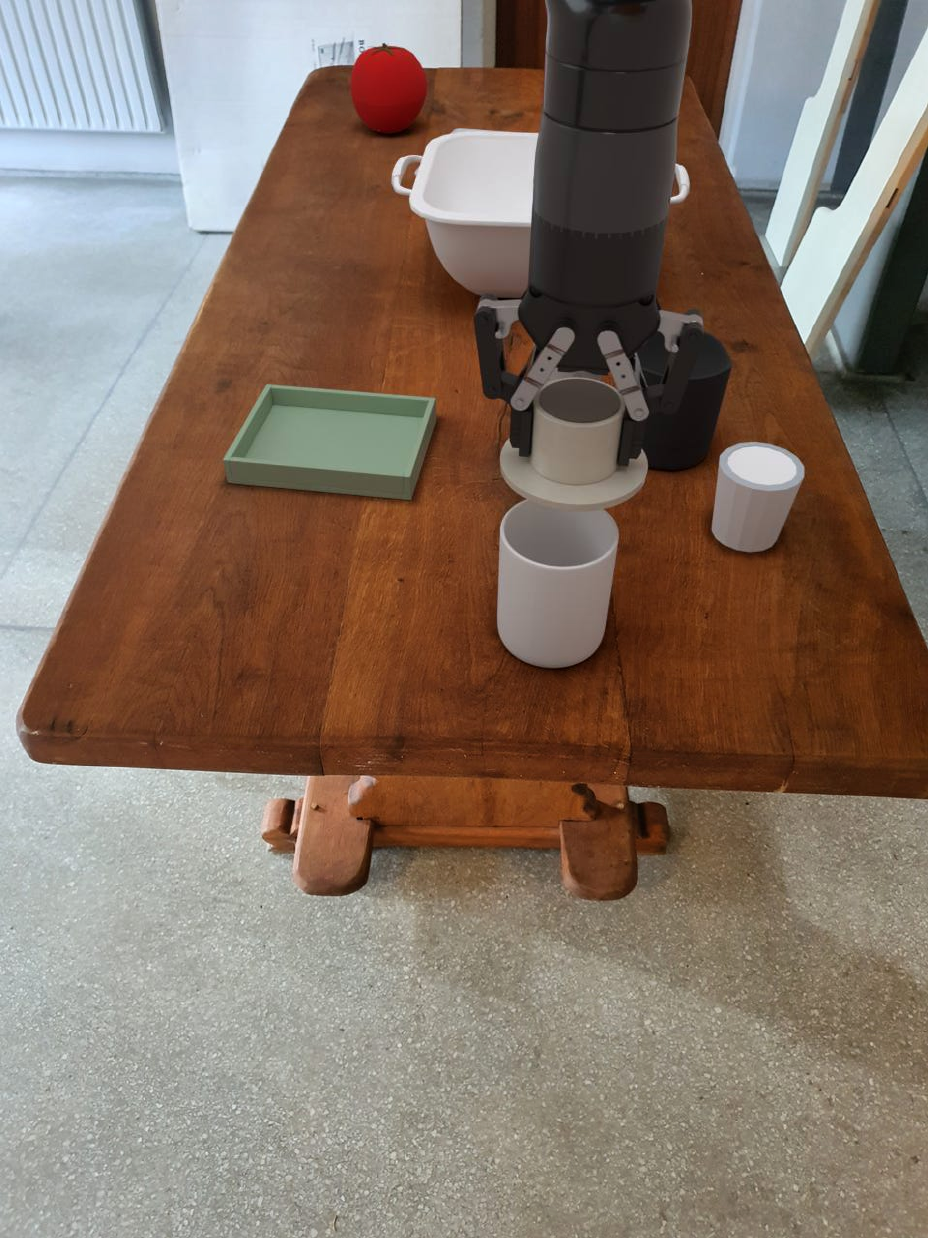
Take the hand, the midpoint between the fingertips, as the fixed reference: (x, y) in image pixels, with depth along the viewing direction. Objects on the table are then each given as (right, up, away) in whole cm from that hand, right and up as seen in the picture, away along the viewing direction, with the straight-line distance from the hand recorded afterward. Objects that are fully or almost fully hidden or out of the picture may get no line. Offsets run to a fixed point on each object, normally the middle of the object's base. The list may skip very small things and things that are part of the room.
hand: (574, 454), depth 64 cm
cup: (0, -11, +11) cm, 15 cm away
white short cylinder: (+17, -4, +18) cm, 25 cm away
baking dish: (+1, +31, +54) cm, 62 cm away
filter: (0, -1, +1) cm, 1 cm away
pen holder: (+12, +5, +28) cm, 30 cm away
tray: (-20, +5, +27) cm, 34 cm away
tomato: (-20, +70, +93) cm, 118 cm away
